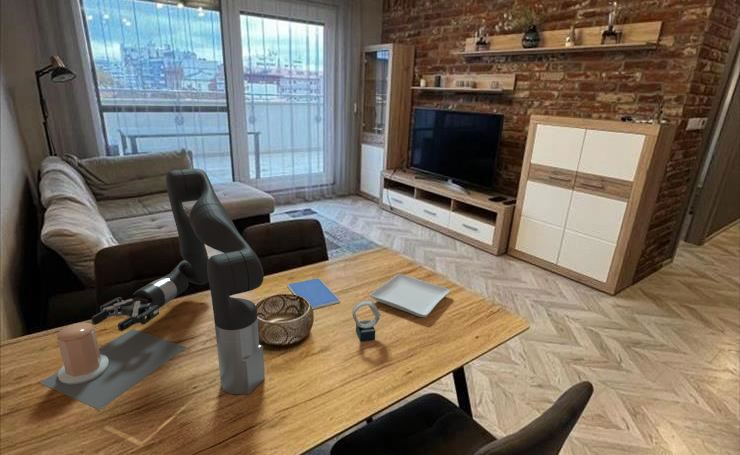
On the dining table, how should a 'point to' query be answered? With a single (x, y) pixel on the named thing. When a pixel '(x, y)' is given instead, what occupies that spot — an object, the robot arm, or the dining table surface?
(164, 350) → the rubber mat
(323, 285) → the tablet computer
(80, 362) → the domed octagonal post
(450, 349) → the dining table surface
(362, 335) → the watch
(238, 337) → the robot arm
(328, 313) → the dining table surface
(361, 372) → the dining table surface
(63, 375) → the saucer
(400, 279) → the salad plate
